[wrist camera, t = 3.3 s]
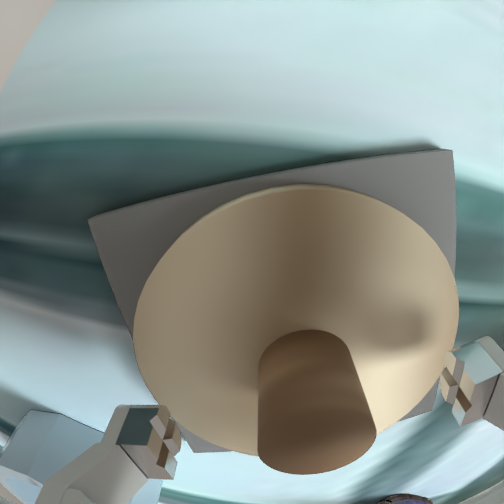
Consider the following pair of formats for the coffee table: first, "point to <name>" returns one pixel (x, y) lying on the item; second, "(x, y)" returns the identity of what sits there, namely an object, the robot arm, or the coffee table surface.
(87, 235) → the coffee table surface
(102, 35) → the coffee table surface
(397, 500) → the flask
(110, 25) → the coffee table surface
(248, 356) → the lid
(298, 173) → the mat
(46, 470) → the bowl
